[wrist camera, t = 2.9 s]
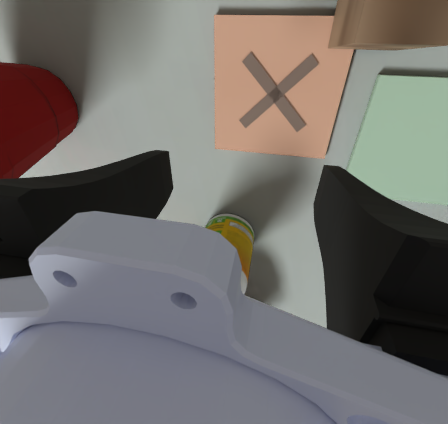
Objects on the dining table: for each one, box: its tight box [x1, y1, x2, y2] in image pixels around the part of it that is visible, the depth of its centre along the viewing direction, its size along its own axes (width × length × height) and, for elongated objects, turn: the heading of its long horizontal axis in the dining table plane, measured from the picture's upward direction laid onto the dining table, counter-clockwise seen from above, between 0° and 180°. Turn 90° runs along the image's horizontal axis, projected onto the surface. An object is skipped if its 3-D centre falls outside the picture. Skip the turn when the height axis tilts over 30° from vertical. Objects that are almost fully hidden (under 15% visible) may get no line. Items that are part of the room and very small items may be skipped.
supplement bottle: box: [205, 214, 254, 294], centre depth 23 cm, size 5×5×10 cm
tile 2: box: [346, 74, 448, 205], centre depth 18 cm, size 9×9×1 cm
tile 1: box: [214, 15, 354, 159], centre depth 18 cm, size 9×9×1 cm
